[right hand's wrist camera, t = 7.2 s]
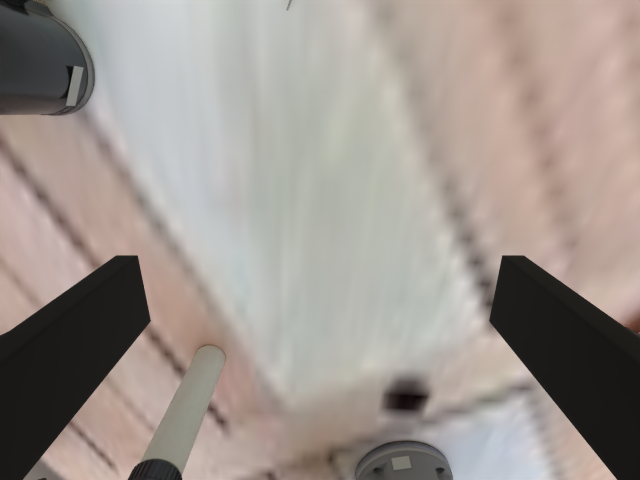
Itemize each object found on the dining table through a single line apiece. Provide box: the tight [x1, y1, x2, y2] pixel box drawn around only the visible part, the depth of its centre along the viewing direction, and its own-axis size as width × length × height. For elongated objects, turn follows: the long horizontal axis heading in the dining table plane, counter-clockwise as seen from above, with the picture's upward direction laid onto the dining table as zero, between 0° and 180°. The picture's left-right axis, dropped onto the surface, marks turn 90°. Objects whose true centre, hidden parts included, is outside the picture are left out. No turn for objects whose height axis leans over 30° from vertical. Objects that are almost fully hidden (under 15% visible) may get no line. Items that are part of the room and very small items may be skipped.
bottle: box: [140, 345, 225, 476], centre depth 39 cm, size 4×4×18 cm
